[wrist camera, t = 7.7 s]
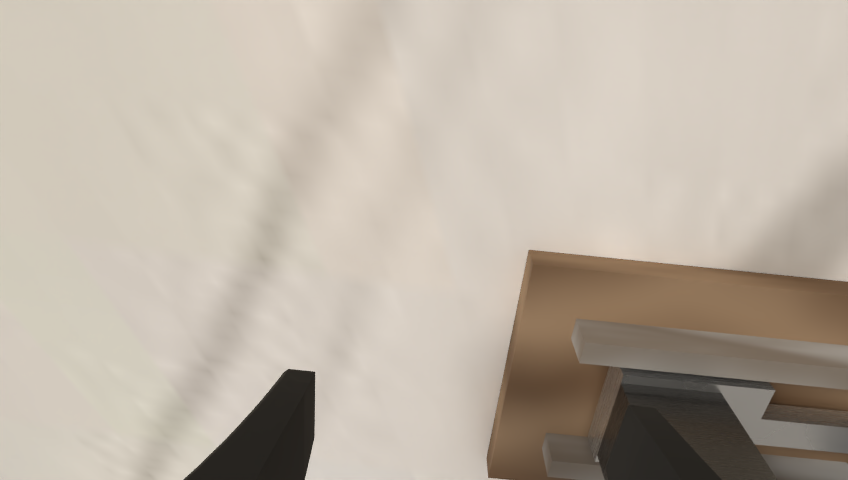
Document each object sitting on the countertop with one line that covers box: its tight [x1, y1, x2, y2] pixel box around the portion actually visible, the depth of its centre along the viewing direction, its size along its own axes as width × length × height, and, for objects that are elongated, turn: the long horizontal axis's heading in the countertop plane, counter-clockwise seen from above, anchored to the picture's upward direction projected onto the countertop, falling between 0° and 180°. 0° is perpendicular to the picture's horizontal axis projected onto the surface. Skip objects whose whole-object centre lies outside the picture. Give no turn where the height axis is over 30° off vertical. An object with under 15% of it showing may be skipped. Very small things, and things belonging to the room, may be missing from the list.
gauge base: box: [487, 250, 848, 480], centre depth 22 cm, size 12×19×6 cm, turn 85°
